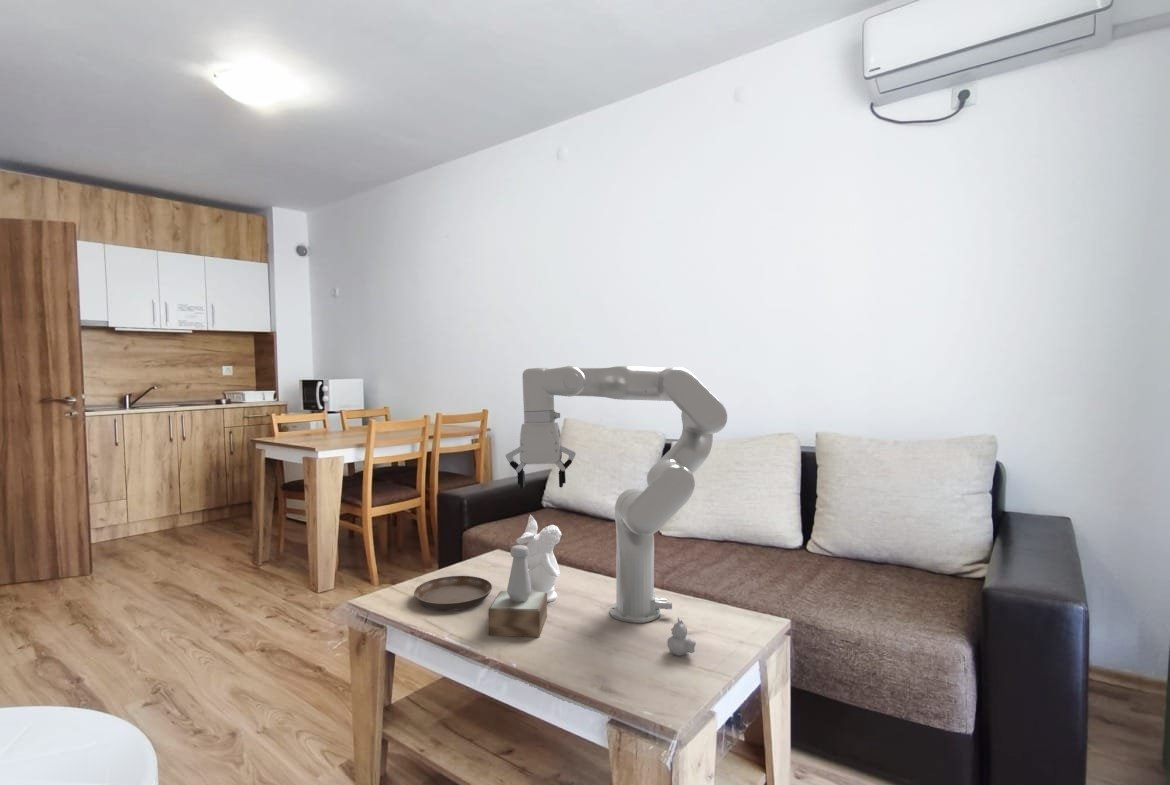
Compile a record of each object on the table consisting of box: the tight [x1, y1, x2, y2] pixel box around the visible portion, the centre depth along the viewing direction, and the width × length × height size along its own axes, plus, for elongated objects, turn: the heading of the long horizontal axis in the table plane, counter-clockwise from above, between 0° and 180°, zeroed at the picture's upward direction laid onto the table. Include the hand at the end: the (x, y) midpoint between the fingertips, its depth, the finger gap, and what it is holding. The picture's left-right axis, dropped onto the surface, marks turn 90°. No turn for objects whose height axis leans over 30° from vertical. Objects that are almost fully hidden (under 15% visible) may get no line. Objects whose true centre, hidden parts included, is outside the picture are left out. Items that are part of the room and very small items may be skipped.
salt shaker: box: [506, 544, 531, 603], centre depth 143 cm, size 6×6×13 cm
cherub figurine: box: [515, 514, 562, 603], centre depth 161 cm, size 12×12×22 cm
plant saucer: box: [413, 575, 493, 612], centre depth 161 cm, size 21×21×3 cm
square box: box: [487, 590, 548, 638], centre depth 143 cm, size 12×12×6 cm
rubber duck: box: [667, 617, 697, 657], centre depth 128 cm, size 5×7×8 cm
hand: (541, 487), depth 147 cm, fingers open, 9 cm apart
